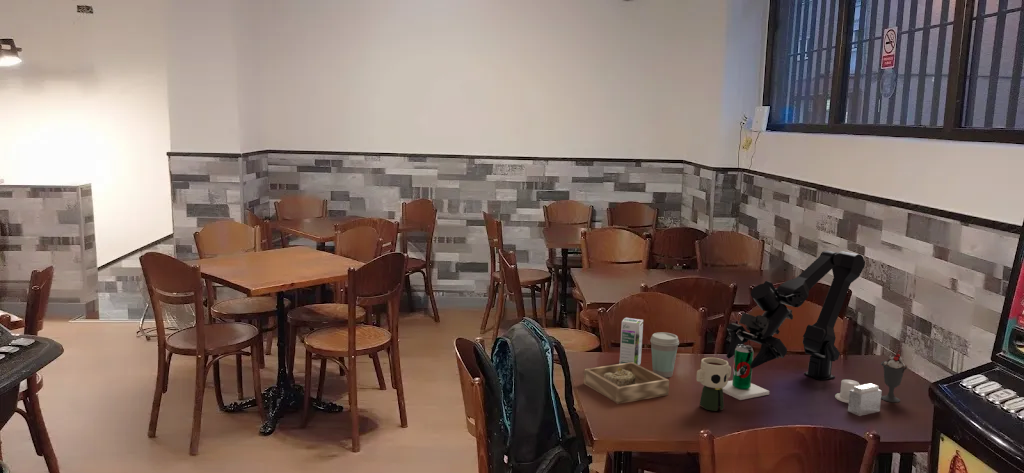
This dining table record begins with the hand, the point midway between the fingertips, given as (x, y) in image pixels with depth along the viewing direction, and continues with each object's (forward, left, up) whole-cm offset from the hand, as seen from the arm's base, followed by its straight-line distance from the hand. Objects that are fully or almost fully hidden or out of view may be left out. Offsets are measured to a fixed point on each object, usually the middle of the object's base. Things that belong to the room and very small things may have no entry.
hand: (739, 362), depth 214 cm
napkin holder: (-21, +25, -9) cm, 34 cm away
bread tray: (+29, -14, -9) cm, 33 cm away
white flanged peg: (-25, +17, -9) cm, 32 cm away
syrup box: (+15, -31, -9) cm, 35 cm away
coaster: (-1, 0, -9) cm, 9 cm away
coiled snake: (+29, -16, -8) cm, 35 cm away
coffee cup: (+11, -20, -9) cm, 24 cm away
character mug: (+16, +7, -9) cm, 19 cm away
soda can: (-2, 0, -8) cm, 8 cm away
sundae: (-36, +22, -9) cm, 43 cm away
